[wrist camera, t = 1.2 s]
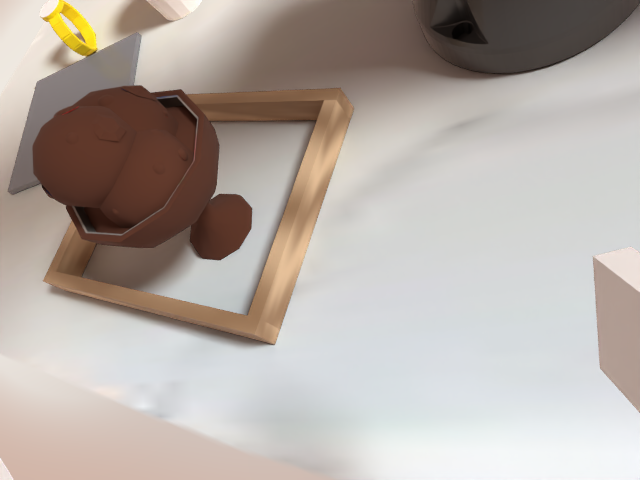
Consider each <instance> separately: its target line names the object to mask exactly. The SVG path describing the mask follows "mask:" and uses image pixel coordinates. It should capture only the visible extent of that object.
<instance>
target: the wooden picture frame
mask: <svg viewBox="0 0 640 480" xmlns="http://www.w3.org/2000/svg"><path fill="white" fill-rule="evenodd" d="M186 95H187V96H188V97H189V98H190V99H191V100H192V101H193V102H194V103H195V104H196V105H197V106H198V107H199V109H200V110H201V111H202V112H203V113H204V114H205V115H206V117H207V118H208V120H209V121H266V120H317V122H316V124H315V127H314V130H313V133H312V136H311V139H310V141H309V144H308V147H307V150H306V153H305V155H304V158H303V161H302V164H301V167H300V169H299V172H298V175H297V178H296V181H295V183H294V186H293V189H292V192H291V195H290V198H289V200H288V203H287V206H286V209H285V212H284V214H283V217H282V220H281V223H280V226H279V228H278V231H277V234H276V237H275V240H274V242H273V245H272V248H271V251H270V254H269V257H268V259H267V262H266V265H265V268H264V271H263V273H262V276H261V279H260V282H259V285H258V287H257V290H256V293H255V296H254V299H253V301H252V304H251V307H250V310H249V313H248V316H246V315H242V314H237V313H233V312H229V311H224V310H220V309H216V308H212V307H207V306H203V305H199V304H194V303H190V302H186V301H181V300H177V299H173V298H168V297H164V296H160V295H155V294H151V293H147V292H142V291H138V290H134V289H129V288H125V287H121V286H116V285H112V284H108V283H103V282H99V281H95V280H90V279H86V278H82V274H83V272H84V270H85V268H86V266H87V263H88V261H89V259H90V257H91V255H92V253H93V250H94V248H95V246H96V244H97V243H94V242H90V241H86V240H83V239H81V237H80V235H79V233H78V231H77V229H76V227H75V225H74V223H73V221H71V224H70V226H69V228H68V230H67V232H66V234H65V236H64V238H63V240H62V242H61V244H60V247H59V249H58V251H57V253H56V255H55V257H54V259H53V261H52V263H51V265H50V267H49V269H48V272H47V274H46V276H45V278H44V280H43V281H44V282H46V283H49V284H51V285H54V286H56V287H58V288H61V289H63V290H66V291H69V292H73V293H77V294H81V295H84V296H88V297H92V298H96V299H100V300H104V301H108V302H112V303H115V304H119V305H123V306H127V307H131V308H135V309H139V310H143V311H147V312H150V313H154V314H158V315H162V316H166V317H170V318H174V319H178V320H181V321H185V322H189V323H193V324H197V325H201V326H205V327H209V328H213V329H216V330H220V331H224V332H228V333H232V334H236V335H240V336H244V337H247V338H251V339H255V340H259V341H263V342H267V343H271V344H275V343H276V340H277V337H278V334H279V331H280V328H281V325H282V322H283V319H284V316H285V313H286V310H287V307H288V304H289V301H290V298H291V295H292V292H293V289H294V286H295V283H296V280H297V277H298V274H299V271H300V268H301V265H302V262H303V259H304V256H305V253H306V250H307V247H308V244H309V241H310V238H311V235H312V232H313V229H314V226H315V223H316V221H317V218H318V215H319V212H320V209H321V206H322V203H323V200H324V197H325V194H326V191H327V188H328V185H329V182H330V179H331V176H332V173H333V170H334V167H335V164H336V161H337V158H338V155H339V152H340V149H341V146H342V143H343V140H344V137H345V134H346V131H347V128H348V125H349V122H350V119H351V116H352V113H353V110H354V108H353V106H352V105H351V103H350V102H349V100H348V99H347V97H346V96H345V94H344V93H343V91H342V90H341V88H330V89H306V90H282V91H258V92H234V93H210V94H186Z"/></svg>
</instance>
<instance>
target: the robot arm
mask: <svg viewBox="0 0 640 480" xmlns="http://www.w3.org/2000/svg"><path fill="white" fill-rule="evenodd" d="M639 3H640V0H413V5H414V10H415V13H416V16H417V19H418V21H419V24H420V26H421V28H422V31H423V33H424V36H425V38H426V40H427V42H428V43H429V45H430V46H431V47H432V49H433V50H434V51H435V52H436V53H437V54H438V55H440V56H441V57H442V58H444V59H445V60H447V61H448V62H450V63H452V64H454V65H457V66H459V67H462V68H465V69H468V70H472V71H478V72H485V73H512V72H520V71H527V70H532V69H536V68H540V67H544V66H547V65H550V64H554V63H556V62H559V61H562V60H564V59H567V58H569V57H571V56H573V55H575V54H577V53H579V52H581V51H583V50H585V49H587V48H589V47H590V46H592V45H594V44H595V43H597V42H598V41H600V40H601V39H603V38H604V37H606V36H607V35H608V34H610V33H611V32H612V31H613V30H615V29H616V28H617V27H618V26H619V25H620V24H621V23H622V22H623V21H624V20H625V19H626V18H627V17H628V16H629V15H630V14H631V13H632V12H633V11H634V9H635V8H636V7H637V6H638V4H639ZM593 266H594V281H595V297H596V313H597V329H598V345H599V361H600V369H601V370H602V371H603V372H604V373H605V374H606V376H607V377H608V378H609V379H610V380H611V381H612V382H613V383H614V384H615V386H616V387H617V388H618V389H619V390H620V391H621V392H622V393H623V394H624V396H625V397H626V398H627V399H628V400H629V401H630V402H631V403H632V404H633V406H634V407H635V408H636V409H637V410H638V411H639V412H640V252H638V251H636V250H635V249H633V248H632V247H628V248H624V249H620V250H616V251H612V252H608V253H603V254H599V255H595V256H593ZM0 480H14V479H13V478H12V476H11V474H10V473H9V471H8V469H7V468H6V466H5V464H4V463H3V461H2V459H1V458H0Z"/></svg>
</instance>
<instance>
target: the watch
mask: <svg viewBox="0 0 640 480" xmlns="http://www.w3.org/2000/svg"><path fill="white" fill-rule="evenodd" d="M60 13H62V14H63V15H64V16H65V17H67V18H68V19H69V20H70V21H71V22H72V23H73V24H74V25H75V27H76V28H77V29H78V30H79V31H80V33H81V35H82V36H83V38H84V39H85V41H86V44H85V43H83V42H82V41H81V40H80V39H79V38H78V37H77V36H76V35H74V34H73V33H72V31H71V30H70V29H69V28H68V26H67V25H66V24H65V22H64V21H63V19H62V17H61V15H60ZM40 17H41V18H43V20H45V21H46V22H50V24H51V26H52V28H53V30H54V31H55V32H56V33H57V35H58V36H59V37H60V39H61V40H63V42H64V43H65V44H66V45H67V46H69V47H70V48H71V49H72V50H73V51H75V52H77V53H78V54H80V55H82V56H89V55H90V54H92V53H93V52H94V51H96V50H97V48H96V34H95V33H94V31H93V29H92V28H91V26H90V25H89V23H88V22H87V21H86V20H85V18H84V17H83V16H82V15H81V14H80V13H79V12H78V11H77V10H76V9H75V8H74V7H73V6H71V5H70V4H68V3H66V2H65V1H63V0H48V1H47V2H46V3H45V4H44V5H43V7H42V8H41V10H40Z"/></svg>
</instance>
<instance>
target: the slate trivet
mask: <svg viewBox="0 0 640 480" xmlns="http://www.w3.org/2000/svg"><path fill="white" fill-rule="evenodd" d="M140 41H141V35H140V34H139V33H138V32H137V33H135V34H133V35H131V36H129V37H127V38H125V39H123V40H120V41H118V42H116V43H114V44H112V45H110V46H108V47H106V48H104V49H102V50H100V51H98V52H96V53H94V54H92V55H90V56H88V57H86V58H84V59H82V60H80V61H78V62H76V63H74V64H72V65H70V66H68V67H66V68H64V69H62V70H60V71H58V72H56V73H54V74H52V75H50V76H48V77H46V78H44V79H42V80H40V81H38V82H37V83H36V87H35V91H34V95H33V98H32V102H31V106H30V109H29V113H28V117H27V121H26V124H25V128H24V132H23V136H22V139H21V143H20V147H19V151H18V154H17V158H16V162H15V166H14V169H13V173H12V177H11V181H10V184H9V188H8V192H9V193H11V194H15V193H17V192H20V191H22V190H25V189H27V188H30V187H32V186H35V185H37V184H40V182H39V180H38V179H37V178H36V176H35V175H34V174H33V151H32V146H33V143H34V141H35V139H36V137H37V135H38V133H39V131H40V129H41V127H42V126H43V125H44V124H45V123H47V122H48V121H49V120H51V119H52V118H53V116H54V115H55V114H56V112H58V111H60V110H62V109H64V108H66V107H69V106H72V105H73V104H75V103H76V102H77V101H79V100H80V99H81V98H83V97H84V96H86V95H87V94H88V93H90V92H92V91H98V90H104V89H109V88H115V87H121V86H134V79H135V73H136V67H137V60H138V54H139V48H140Z"/></svg>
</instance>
